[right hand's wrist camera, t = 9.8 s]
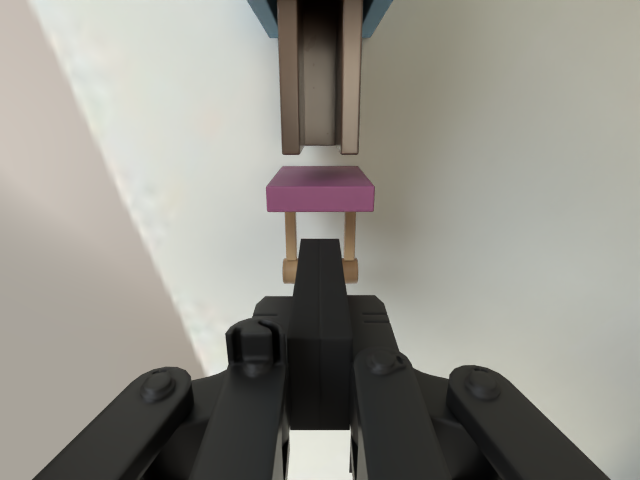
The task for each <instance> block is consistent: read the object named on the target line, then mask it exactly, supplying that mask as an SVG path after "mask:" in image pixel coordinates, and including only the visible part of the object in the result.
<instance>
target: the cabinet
mask: <svg viewBox="0 0 640 480" xmlns="http://www.w3.org/2000/svg"><path fill="white" fill-rule="evenodd" d="M247 1H248V3H249V5H250V6H251V8H252V10H253V11H254V13H255V14H256V16H257V18H258V19H259V21H260V23H261V24H262V26H263V28H264V29H265V31H266V33H267V34H268V36H269V37H270V38H278V16H277V0H247ZM392 1H393V0H363V19H362V38H370V37H371V35H372V34H373V32H374V31H375V29H376V27H377V26H378V24H379V22H380V21H381V19H382V18H383V16H384V14H385V13H386V11H387V9H388V8H389V6H390V5H391V3H392Z"/></svg>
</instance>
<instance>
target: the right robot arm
mask: <svg viewBox="0 0 640 480" xmlns="http://www.w3.org/2000/svg"><path fill="white" fill-rule="evenodd" d="M225 335H226V344H227V354H228V363H229V365H228V368H227V370H225V371H223V372H221V373H219V374H216V375H213V376H210V377H205V378H201V379H197V380H192V381H191V376H190V375H189V374H188V372H187V371H186V370H183V369H181V368H178V367H163V368H158V369H153V370H151V371H149V372H147V373H145V374H142V375H141V376H139V377H138V378H137V379H135V380H134V381H133V382H131V383H130V384H129V385H128V386H127V387H126V388H125V389H124V390H123V391H122V392H121V393H120V394H119V395H118V396H117V397H116V398H115V399H114V400H113V401H112V402H111V403H110V404H109V405H108V406H107V407H106V408H105V409H104V410H103V411H102V412H101V413H100V414H99V415H98V416H97V417H96V418H95V419H94V420H93V421H92V422H90V423H89V424H88V425H87V426H86V427H85V428H84V429H83V430H82V431H81V432H80V433H79V434H78V435H77V436H76V437H75V438H74V439H73V440H72V441H71V442H70V443H69V444H68V445H67V446H66V447H65V448H64V449H63V450H62V451H61V452H60V453H59V454H58V455H57V456H56V457H55V458H54V459H53V460H52V461H51V462H50V463H49V464H48V465H47V466H46V467H45V468H44V469H42V470H41V471H40V472H39V473H38V474H37V475H36V476H35V477H34V478H33V479H32V480H287V476H288V464H289V452H290V444H289V430H350V428H351V444H350V470H349V473H352V475H353V480H611V479H610V478H608V477H607V476H606V475H605V474H604V473H603V472H602V471H601V470H600V469H599V468H598V467H597V466H596V465H595V464H594V463H593V462H592V461H591V460H590V459H589V458H588V457H587V456H586V455H585V454H584V453H583V452H582V451H581V450H580V449H579V448H578V447H577V446H576V445H575V444H573V443H572V442H571V441H570V440H569V439H568V438H567V437H566V436H565V435H564V434H563V433H562V432H561V431H560V430H559V429H558V428H557V427H556V426H555V425H554V424H553V423H552V422H551V421H550V420H549V419H548V418H547V417H546V416H545V415H544V414H543V413H542V412H541V411H540V410H539V409H537V408H536V407H535V406H534V405H533V404H532V403H531V402H530V401H529V400H528V399H527V398H526V397H525V396H524V395H523V394H522V393H521V392H520V391H519V390H518V389H517V388H516V387H515V386H514V385H513V384H512V383H511V382H510V381H509V380H507V379H506V378H505V377H503V376H502V375H501V374H499V373H497V372H495V371H493V370H491V369H488V368H485V367H481V366H476V365H463V366H461V367H458V368H455V369H454V370H453V371H452V372H451V374H450V375H449V379H446V378H441V377H437V376H433V375H429V374H426V373H423V372H420V371H418V370H416V369H414V368H413V367H412V364H411V363H410V361H409V359H408V358H407V357H406V356H405V355H404V354H402V353H401V352H400V351H399V349H398V346H397V343H396V340H395V336H394V333H393V330H392V327H391V324H390V322H389V318H388V315H387V312H386V309H385V306H384V303H383V302H382V301H381V300H379V299H378V298H377V297H376V296H375V295H347V292H346V285H345V278H344V271H343V264H342V257H341V250H340V243H339V239H301V243H300V250H299V257H298V264H297V271H296V278H295V285H294V292H293V296H265V297H264V298H263V299H262V300H261V301H260V302H259V303H258V304H256V307H255V310H254V313H253V316H252V318H249V319H246V320H243V321H240V322H238V323H236V324H234V325H233V326H231V327H230V328H229V329H228V331H227V332H226V333H225Z"/></svg>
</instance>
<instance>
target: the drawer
mask: <svg viewBox="0 0 640 480" xmlns="http://www.w3.org/2000/svg"><path fill="white" fill-rule="evenodd" d="M277 16H278V46H279V75H280V105H281V134H282V154H283V155H299V154H300V153H301V151H302V149H303V148H304V146H334V145H336V147H337V148H338V150H339V152H340V153H341V154H342V155H357V154H358V151H359V118H360V85H361V52H362V19H363V0H277ZM374 193H375V187H374V185H373V184H372V183H371V182H370V180H369V179H368V178H367V177H366V176H365V174H364V173H363V172H362V171H361V169H360V168H359V167H358V166H283V167H282V168H281V169H280V170H279V171H278V173H277V174H276V175H275V176H274V178H273V179H272V180H271V181H270V183H269V184H268V185H267V186H266V198H267V211H268V212H285V231H286V258H285V259H284V260H283V282H284V284H295V278H296V271H297V264H298V258H297V231H296V212H345V214H344V258H342V264H343V271H344V278H345V284H356V283H357V282H358V261H357V258H354V256H355V222H356V212H373V211H374Z"/></svg>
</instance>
